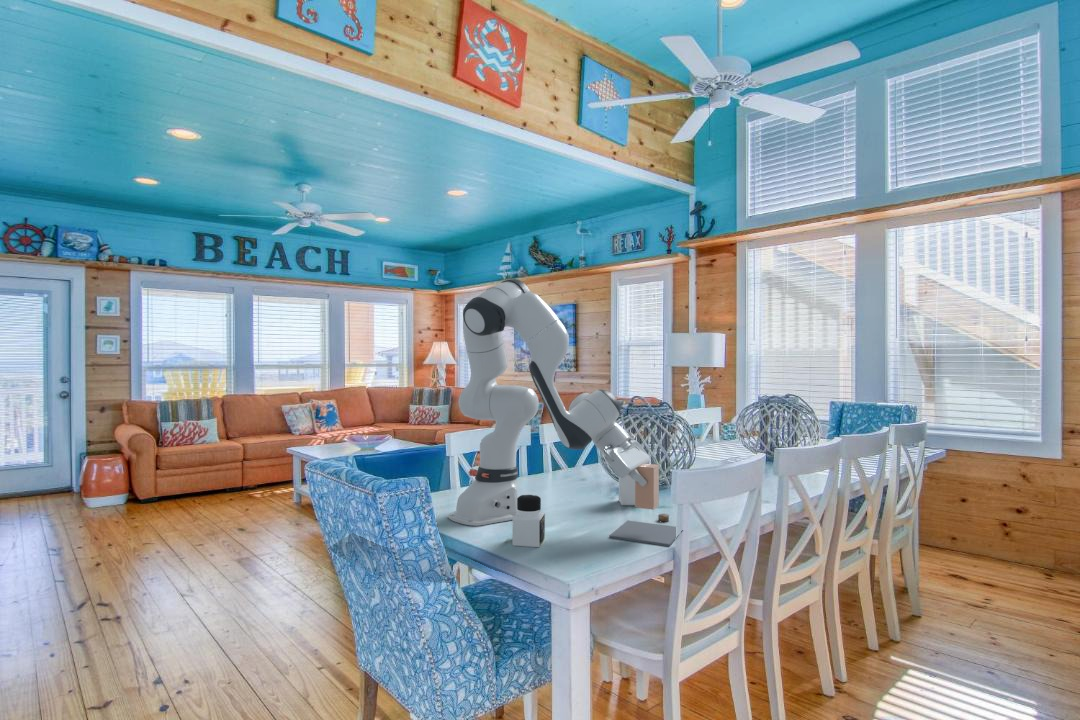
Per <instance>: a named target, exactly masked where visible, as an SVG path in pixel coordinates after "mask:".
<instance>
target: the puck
mask: <svg viewBox="0 0 1080 720" xmlns="http://www.w3.org/2000/svg"><path fill="white" fill-rule="evenodd" d="M657 520H658V521H659V522H660V521H661V523H668V522H669V521H670V515H668V514H665V513H660V514H658V518H657Z"/></svg>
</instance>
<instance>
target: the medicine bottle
mask: <svg viewBox="0 0 1080 720" xmlns="http://www.w3.org/2000/svg"><path fill="white" fill-rule="evenodd" d="M541 502H542V498H541V497H540V496H538V495H537V494H530V493H527V494H522V495H520V496H519V495H518V498H517V514H516V515H515V516H514V517H513V520H512V546H513V547H527V548H540V547H541V546H542V544H543V542H544V541H545V539H546V537H545V534H546V533H545V532H546V530H545V527H546V526H545V524H546V522H545V521H546V520H545V519H546V513H545V511H541V510H542V509H541V507H542V506H541V505H542V503H541Z"/></svg>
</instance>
